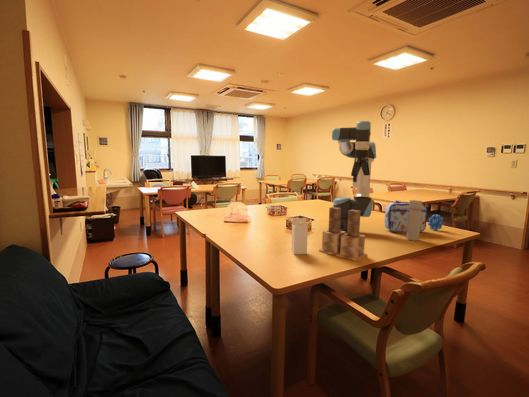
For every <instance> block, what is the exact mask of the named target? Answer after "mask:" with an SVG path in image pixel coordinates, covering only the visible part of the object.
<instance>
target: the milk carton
mask: <svg viewBox="0 0 529 397" xmlns="http://www.w3.org/2000/svg"><path fill="white" fill-rule="evenodd" d="M292 220H293V221H292V224H291V252H292V254H293V255H307V254H308V235H309V234H308V233H309V231H308V230H309V229H308V228H309V227H308V221H307V218H306V217H304V218H303V217H299V218H298V217H294V218H293V219H292Z"/></svg>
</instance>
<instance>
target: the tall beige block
mask: <svg viewBox="0 0 529 397" xmlns="http://www.w3.org/2000/svg"><path fill="white" fill-rule="evenodd" d="M409 202H410V203H409V208H410V209H409V208H407V212H408V209H409V215H408V214H407V215H406V217H407V221H408V227H407V230H406V231H407V233H406V239H407V240H408V241H411V242H417V241H419V240H420V233H421V232H420V223H421V212H422V210H421V209H422V204H423V203H422V202H423V201H422V200H416V199H410V200H409ZM405 222H406V220H405ZM404 227H405V225H404ZM404 231H405V230H404ZM406 231H405V232H406Z"/></svg>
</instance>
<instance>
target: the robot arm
mask: <svg viewBox="0 0 529 397" xmlns="http://www.w3.org/2000/svg"><path fill="white" fill-rule="evenodd" d="M371 124H372V123H371V121H368V120H365V121H364V120H363V121H362V120H361V121H358V122H356V126H355V127H354V126H353V127H352V126H351V127H333V129H332V130H331V140H332V141H337V142H338V145H339V146H338V148H339V151H340V153H341V155H343V156H344V157H347V158H349V159H354V160H353V166H352V170H351V174H350V176H351V177H352V189H356V192H355V193H356V195H355V196H354V197H353V199H352V198H351V197H350V196H344V197H343V196H341V197H335V198H334V199H333V201H332V202H333V204H332V207H338V208H341V220H340V231H345V232H346V233H347V229H348V211H349V210H352V209H353V210H360V211H361V212H360V218H361V217H362V218H369V217H371V215H372V212H373V211H372V210H373V205H374V200H372V197H371V196H370V189H371V177H372V176H371V174H372V163H373V162H374V160H375V159H376V158H377V149H376V143H375V142H373V141H371V140H370V139H371V134H372V133H371V132H372V131H371V129H372V128H371V127H372V125H371Z"/></svg>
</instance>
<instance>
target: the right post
mask: <svg viewBox="0 0 529 397" xmlns="http://www.w3.org/2000/svg"><path fill="white" fill-rule="evenodd" d="M360 212H361V211H360V210H353V209H352V210H349V211H348V229H347V232H346V233H347V236H350V237H355V238H356V237H359V234H360V226H361V225H360V224H361V217H360Z"/></svg>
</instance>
